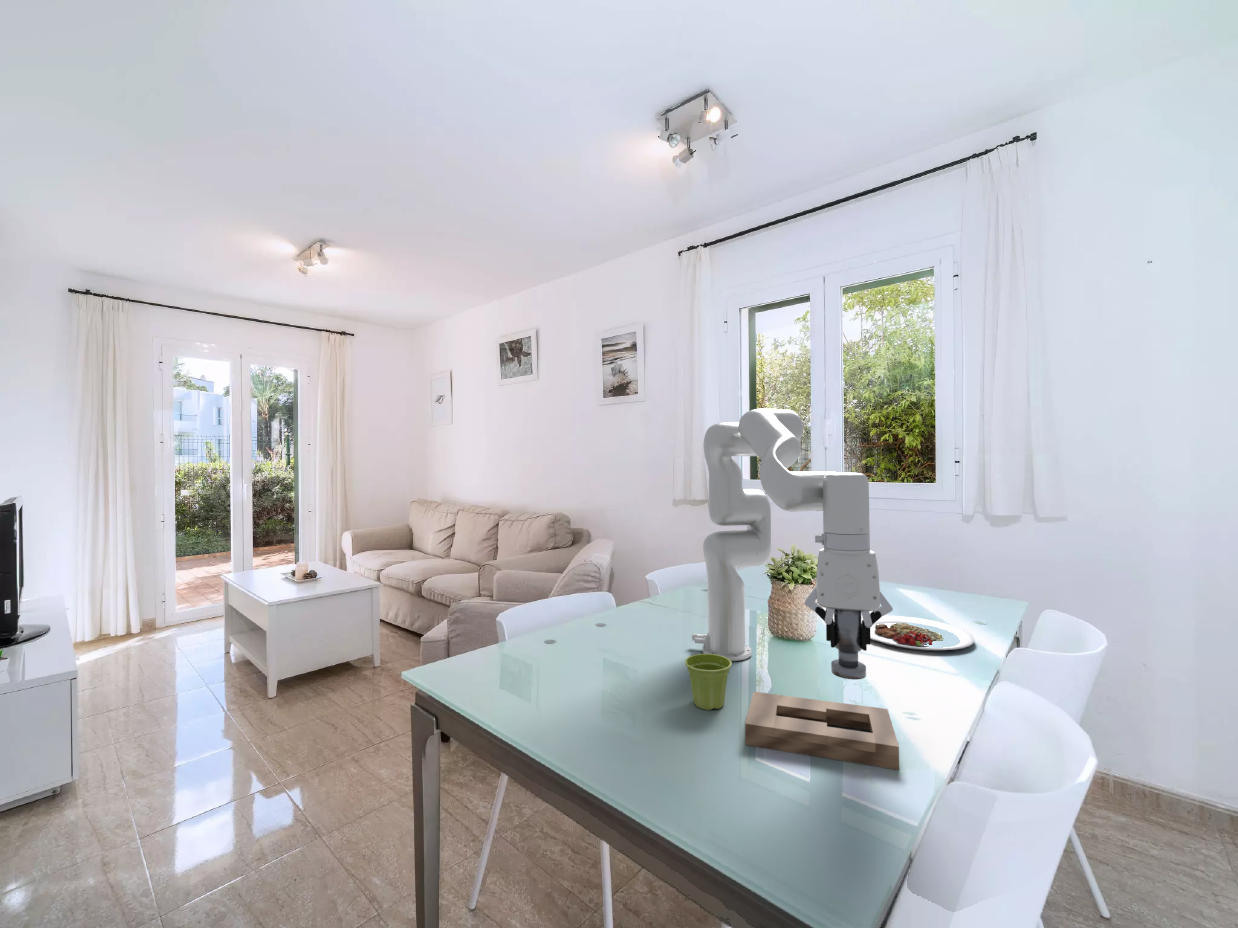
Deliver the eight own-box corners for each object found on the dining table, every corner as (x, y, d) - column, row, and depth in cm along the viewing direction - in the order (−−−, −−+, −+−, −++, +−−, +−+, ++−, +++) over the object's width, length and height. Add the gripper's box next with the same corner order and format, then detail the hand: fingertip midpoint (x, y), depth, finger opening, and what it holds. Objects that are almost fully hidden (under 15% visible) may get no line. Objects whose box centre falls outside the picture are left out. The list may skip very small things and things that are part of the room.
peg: (831, 677, 92) (830, 601, 93) (830, 665, 98) (829, 594, 98) (867, 681, 91) (866, 604, 91) (864, 669, 96) (863, 596, 96)
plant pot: (722, 718, 103) (721, 673, 103) (677, 707, 108) (677, 664, 108) (738, 700, 111) (738, 658, 111) (696, 690, 116) (696, 650, 116)
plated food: (929, 620, 167) (929, 609, 167) (1002, 654, 137) (1002, 641, 137) (835, 622, 166) (834, 611, 166) (887, 657, 136) (886, 643, 136)
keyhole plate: (745, 744, 93) (745, 723, 94) (753, 710, 107) (753, 691, 107) (899, 769, 85) (898, 746, 85) (887, 728, 98) (887, 708, 98)
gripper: (795, 543, 94) (797, 648, 94) (903, 547, 88) (905, 659, 88) (796, 538, 101) (798, 635, 101) (896, 541, 95) (898, 644, 95)
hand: (848, 645), depth 94 cm, fingers closed on peg, 4 cm apart
